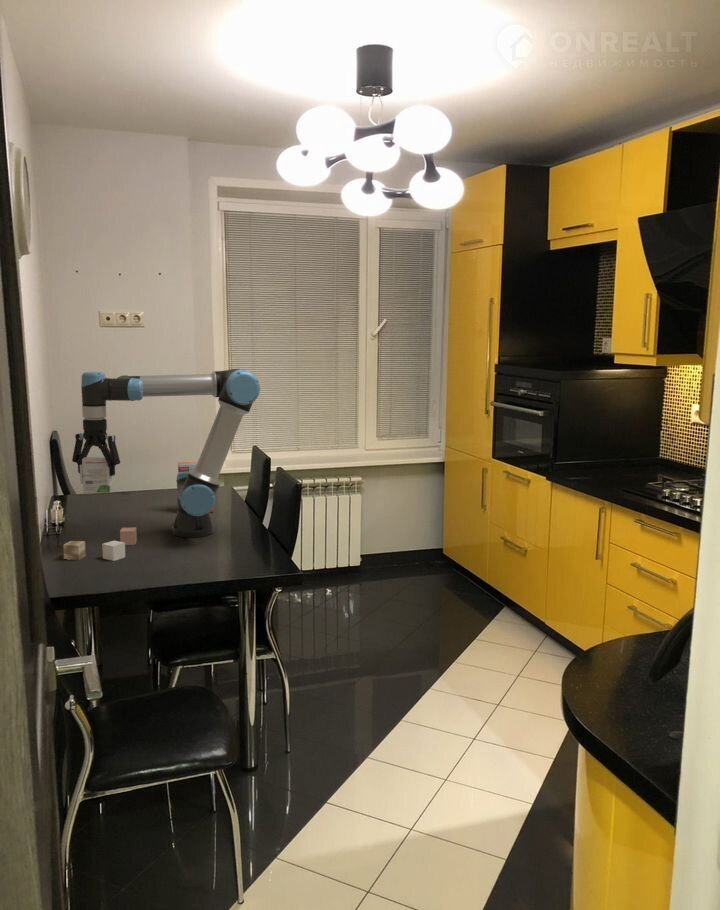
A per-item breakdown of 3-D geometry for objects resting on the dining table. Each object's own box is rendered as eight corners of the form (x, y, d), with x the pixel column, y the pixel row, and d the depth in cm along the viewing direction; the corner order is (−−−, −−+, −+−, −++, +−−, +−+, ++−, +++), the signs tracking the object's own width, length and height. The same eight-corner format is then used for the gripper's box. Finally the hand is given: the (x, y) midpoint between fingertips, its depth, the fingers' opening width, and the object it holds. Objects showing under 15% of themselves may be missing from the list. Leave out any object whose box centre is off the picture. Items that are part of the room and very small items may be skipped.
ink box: (110, 489, 253) (109, 455, 251) (109, 492, 249) (108, 458, 247) (84, 490, 251) (83, 456, 249) (83, 493, 246) (81, 458, 244)
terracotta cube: (136, 540, 263) (136, 527, 262) (135, 544, 258) (134, 531, 257) (122, 541, 262) (121, 527, 261) (120, 545, 257) (120, 531, 256)
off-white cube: (125, 557, 244) (124, 542, 243) (113, 561, 239) (113, 546, 239) (114, 554, 246) (114, 540, 245) (102, 558, 242) (102, 543, 241)
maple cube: (85, 556, 244) (85, 541, 243) (78, 560, 239) (78, 545, 238) (70, 555, 244) (70, 540, 244) (63, 559, 239) (63, 545, 239)
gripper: (130, 418, 247) (132, 484, 250) (72, 415, 252) (75, 479, 256) (117, 421, 240) (119, 488, 243) (58, 417, 245) (61, 483, 248)
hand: (96, 483), depth 249 cm, fingers closed on ink box, 9 cm apart
